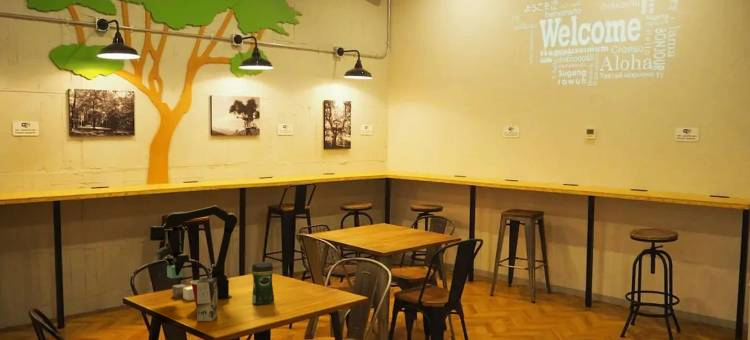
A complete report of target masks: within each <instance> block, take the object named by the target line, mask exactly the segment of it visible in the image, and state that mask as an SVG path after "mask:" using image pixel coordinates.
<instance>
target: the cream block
mask: <svg viewBox="0 0 750 340" xmlns="http://www.w3.org/2000/svg"><path fill="white" fill-rule="evenodd" d="M182 299H184V300H187V301H192V300H195V299H194V293H193V289H192V285H191V286H187V287H185V288H183V297H182Z"/></svg>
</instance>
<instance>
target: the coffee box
mask: <svg viewBox="0 0 750 340" xmlns="http://www.w3.org/2000/svg"><path fill="white" fill-rule="evenodd" d="M199 280H200V281H198V282H197V308H196V309H197V312H196V313H197V319H196V320H197V322H198V321H199V322H213V320H215V318H216V317H218V314H219V313H218V311H219V310H218V309H219V308H218V299H217V278H212V277H202V278H201V279H199Z"/></svg>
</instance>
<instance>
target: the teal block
mask: <svg viewBox="0 0 750 340" xmlns="http://www.w3.org/2000/svg"><path fill="white" fill-rule="evenodd" d="M166 274H167V275H166V277H167V278H170V279H177V278H182V277H183V268H182V269H181V271H180V273H179V275H178V276H176V273H175V266H174V265H169V266H168V265H167V266H166Z"/></svg>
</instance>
